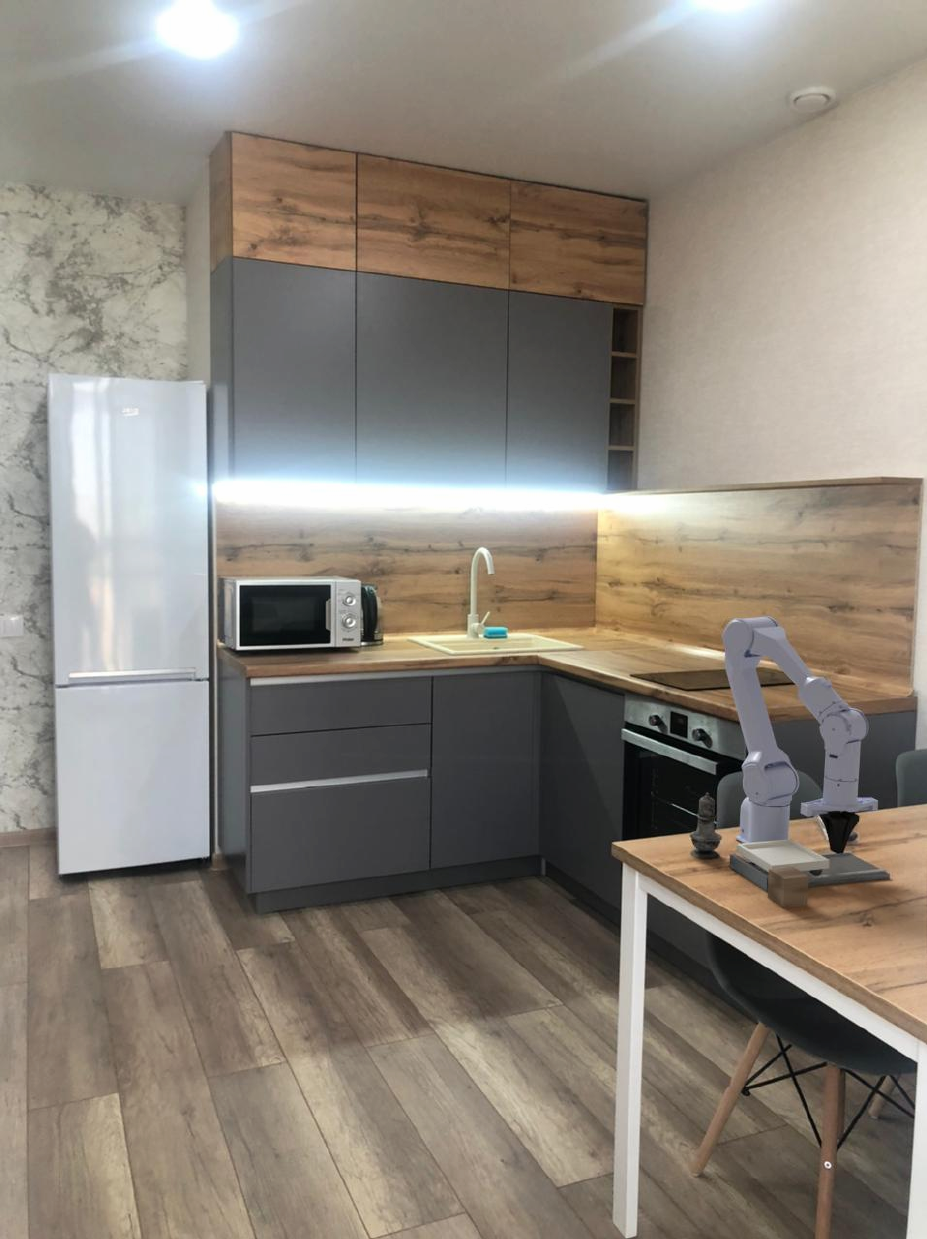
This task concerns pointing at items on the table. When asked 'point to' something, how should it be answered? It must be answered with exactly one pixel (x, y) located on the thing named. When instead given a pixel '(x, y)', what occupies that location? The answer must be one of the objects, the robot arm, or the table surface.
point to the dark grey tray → (839, 871)
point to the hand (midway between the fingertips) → (836, 851)
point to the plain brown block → (788, 887)
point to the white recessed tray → (783, 856)
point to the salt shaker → (705, 831)
